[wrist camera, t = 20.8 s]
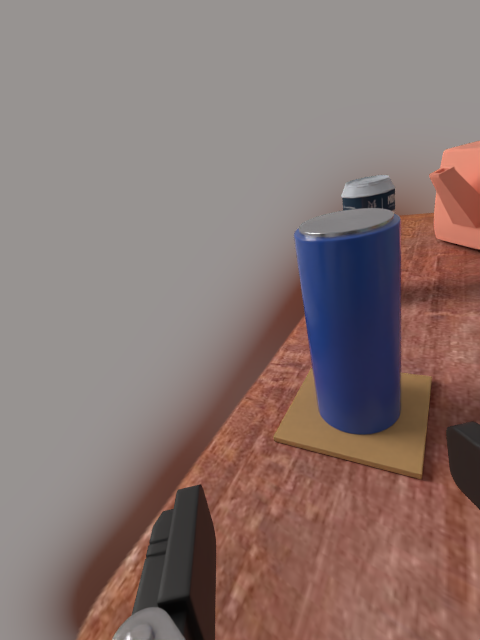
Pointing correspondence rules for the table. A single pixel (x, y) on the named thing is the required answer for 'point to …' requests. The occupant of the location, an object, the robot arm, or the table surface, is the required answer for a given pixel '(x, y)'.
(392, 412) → the blue can
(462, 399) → the table surface
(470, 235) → the teapot
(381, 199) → the beer can
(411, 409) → the coaster
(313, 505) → the table surface
